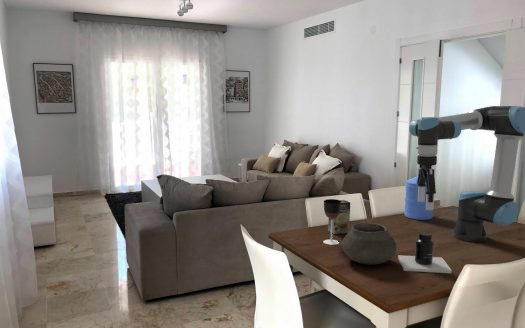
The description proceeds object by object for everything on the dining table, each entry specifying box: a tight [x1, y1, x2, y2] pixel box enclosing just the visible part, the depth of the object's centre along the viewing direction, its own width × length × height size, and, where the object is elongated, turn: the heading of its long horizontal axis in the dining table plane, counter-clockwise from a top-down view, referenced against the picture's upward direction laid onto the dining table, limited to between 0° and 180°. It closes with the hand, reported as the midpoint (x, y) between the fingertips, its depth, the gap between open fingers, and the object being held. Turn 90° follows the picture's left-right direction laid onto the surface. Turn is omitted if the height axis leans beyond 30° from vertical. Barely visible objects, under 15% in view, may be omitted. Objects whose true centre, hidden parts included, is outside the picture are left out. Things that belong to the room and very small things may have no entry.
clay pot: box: [341, 222, 397, 265], centre depth 177 cm, size 22×21×15 cm
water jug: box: [403, 168, 434, 221], centre depth 246 cm, size 16×16×28 cm
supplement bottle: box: [414, 231, 435, 265], centre depth 173 cm, size 7×7×12 cm
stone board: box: [397, 254, 453, 274], centre depth 174 cm, size 18×14×1 cm
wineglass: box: [323, 198, 341, 246], centre depth 201 cm, size 8×9×20 cm
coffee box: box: [327, 199, 351, 235], centre depth 218 cm, size 9×6×16 cm
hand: (425, 205), depth 177 cm, fingers open, 13 cm apart
